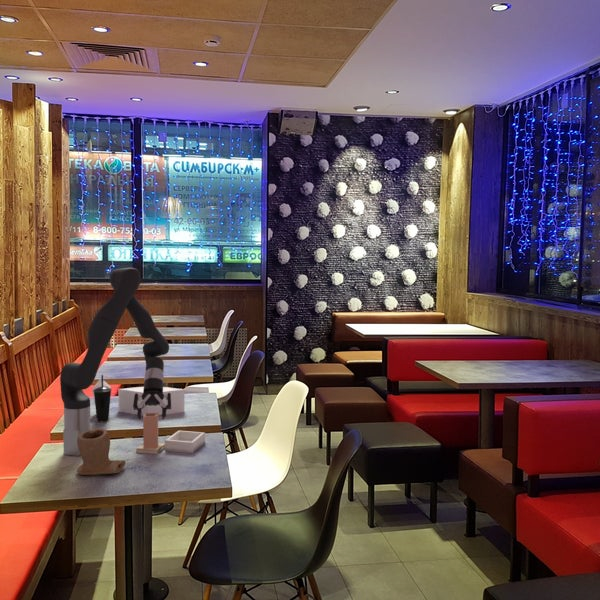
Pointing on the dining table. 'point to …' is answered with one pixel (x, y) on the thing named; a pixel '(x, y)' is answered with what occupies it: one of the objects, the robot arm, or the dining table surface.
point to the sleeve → (150, 430)
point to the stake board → (150, 449)
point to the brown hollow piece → (97, 453)
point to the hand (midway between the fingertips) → (151, 418)
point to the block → (176, 405)
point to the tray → (185, 441)
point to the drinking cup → (102, 402)
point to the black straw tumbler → (99, 384)
